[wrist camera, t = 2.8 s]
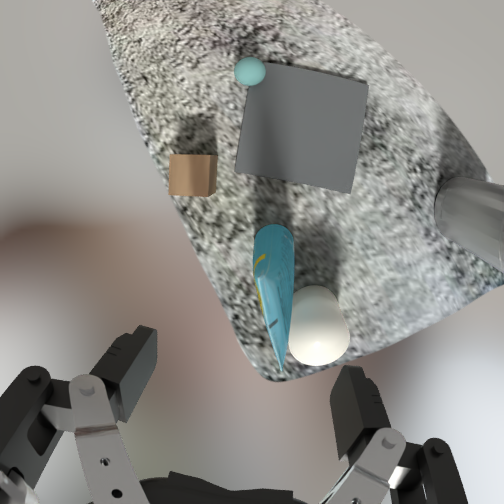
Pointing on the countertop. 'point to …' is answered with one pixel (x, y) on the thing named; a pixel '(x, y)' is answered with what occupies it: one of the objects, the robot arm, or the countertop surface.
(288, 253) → the tube
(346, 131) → the plate
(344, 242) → the countertop surface
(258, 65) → the teal ball
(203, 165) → the walnut block
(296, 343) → the white rounded cylinder
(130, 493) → the robot arm
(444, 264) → the countertop surface
